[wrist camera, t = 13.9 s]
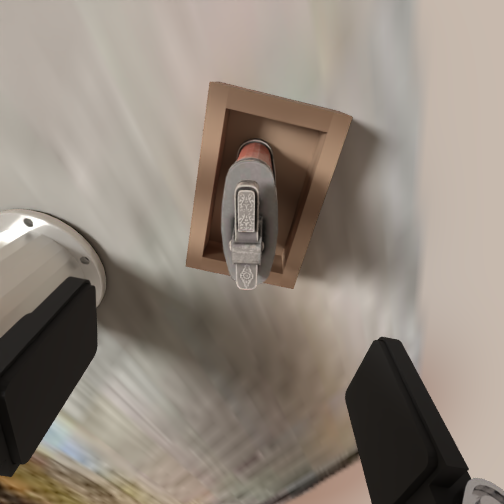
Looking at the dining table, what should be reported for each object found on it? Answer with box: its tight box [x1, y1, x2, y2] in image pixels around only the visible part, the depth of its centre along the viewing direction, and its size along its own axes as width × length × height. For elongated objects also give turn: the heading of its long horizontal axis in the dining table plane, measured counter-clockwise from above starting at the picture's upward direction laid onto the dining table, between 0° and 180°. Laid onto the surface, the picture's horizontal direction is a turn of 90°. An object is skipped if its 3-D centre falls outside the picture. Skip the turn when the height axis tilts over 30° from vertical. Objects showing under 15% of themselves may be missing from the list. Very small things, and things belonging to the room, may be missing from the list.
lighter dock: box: [186, 82, 353, 289], centre depth 24 cm, size 13×9×4 cm
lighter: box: [221, 138, 278, 290], centre depth 20 cm, size 8×3×10 cm, turn 179°
